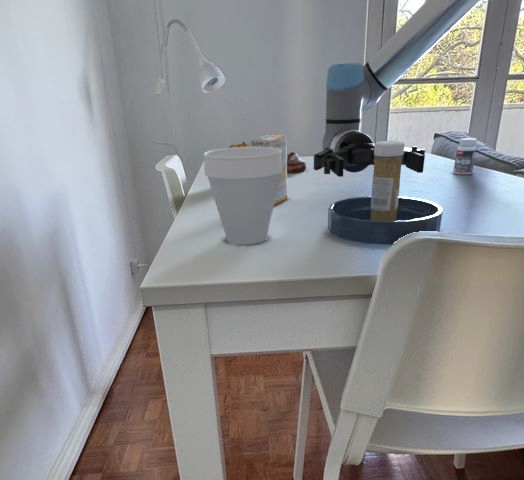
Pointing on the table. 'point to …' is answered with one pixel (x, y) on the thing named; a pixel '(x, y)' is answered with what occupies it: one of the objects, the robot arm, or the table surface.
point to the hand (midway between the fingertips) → (381, 166)
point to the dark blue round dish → (382, 232)
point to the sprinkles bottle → (386, 180)
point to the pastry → (295, 163)
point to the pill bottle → (465, 156)
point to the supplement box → (281, 143)
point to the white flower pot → (244, 189)
